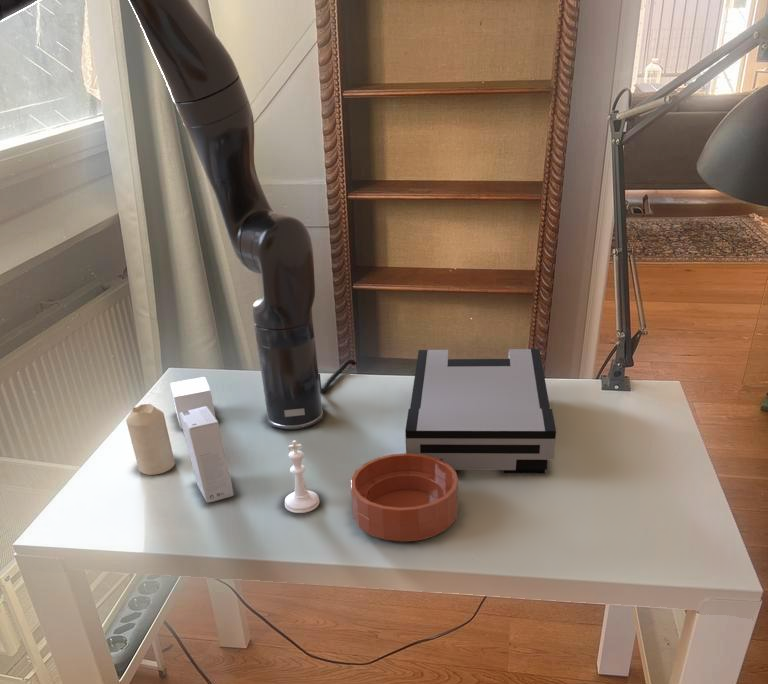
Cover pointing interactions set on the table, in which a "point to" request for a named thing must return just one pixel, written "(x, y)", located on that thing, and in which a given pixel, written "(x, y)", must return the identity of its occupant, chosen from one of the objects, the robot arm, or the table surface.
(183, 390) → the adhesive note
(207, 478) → the cosmetic box
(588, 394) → the table surface
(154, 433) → the candle
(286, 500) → the chess piece
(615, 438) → the table surface
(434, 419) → the game console
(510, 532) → the table surface
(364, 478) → the bowl
